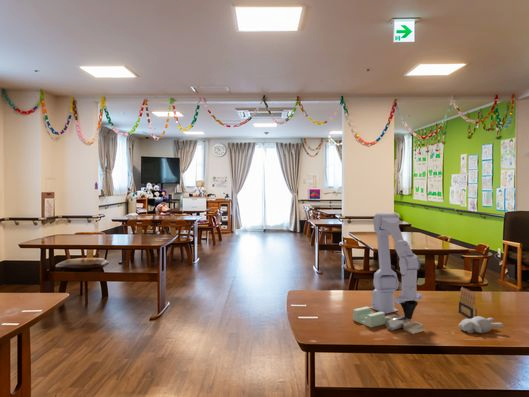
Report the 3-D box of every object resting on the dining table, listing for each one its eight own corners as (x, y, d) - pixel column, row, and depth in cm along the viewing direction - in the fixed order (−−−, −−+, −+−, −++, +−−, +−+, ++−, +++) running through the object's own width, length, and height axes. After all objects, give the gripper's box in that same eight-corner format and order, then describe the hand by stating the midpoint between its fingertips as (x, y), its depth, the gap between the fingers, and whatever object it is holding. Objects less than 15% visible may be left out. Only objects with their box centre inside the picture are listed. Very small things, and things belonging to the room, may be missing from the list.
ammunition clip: (476, 320, 163) (477, 292, 163) (472, 320, 163) (473, 292, 162) (462, 312, 174) (462, 285, 173) (458, 312, 174) (458, 285, 173)
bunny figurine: (453, 317, 156) (488, 311, 157) (455, 329, 156) (489, 324, 157) (468, 325, 146) (505, 319, 148) (469, 339, 146) (506, 333, 148)
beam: (384, 322, 160) (384, 316, 160) (394, 320, 163) (394, 314, 163) (413, 333, 148) (413, 327, 148) (423, 330, 151) (423, 324, 151)
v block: (352, 320, 163) (353, 309, 163) (366, 316, 167) (366, 306, 167) (370, 327, 155) (371, 316, 155) (384, 323, 159) (384, 313, 159)
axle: (387, 330, 153) (384, 320, 154) (402, 326, 158) (400, 316, 159) (395, 330, 150) (392, 319, 151) (410, 326, 155) (407, 315, 156)
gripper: (405, 290, 150) (404, 325, 150) (429, 285, 157) (428, 318, 158) (390, 286, 156) (390, 319, 156) (414, 281, 163) (413, 313, 164)
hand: (408, 318), depth 157 cm, fingers closed
